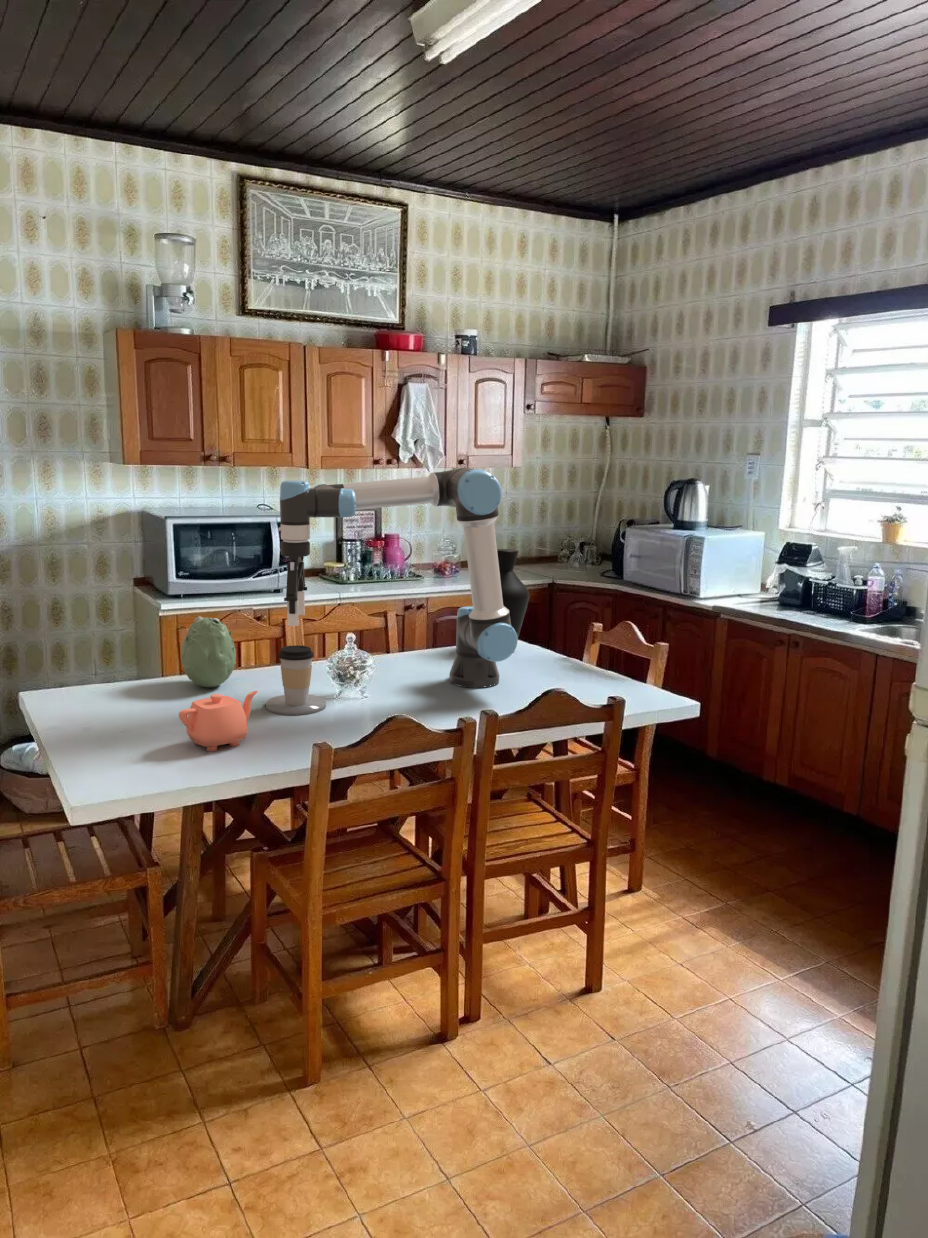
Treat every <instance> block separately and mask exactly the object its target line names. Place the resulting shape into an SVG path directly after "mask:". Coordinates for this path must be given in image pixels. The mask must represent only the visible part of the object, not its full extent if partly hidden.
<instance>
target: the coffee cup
mask: <svg viewBox="0 0 928 1238" xmlns="http://www.w3.org/2000/svg"><path fill="white" fill-rule="evenodd" d="M277 657H278V658H279V660H280V671H281V681H282V687H283V692H284V694H283V695H285V703H286V704H288V705H293V706H300V705H304V704H306V703H307V702H308V695H310V694H309V692H310V686H311V679H312V678H311V677H312V670H313V669H312V668H313V665H312V663H313V662H312V661H313V658H314V657H315V655H314V651H312V648H311V647H310V646H306V645H296V644H294V645H287V646H282V647H281V649H280V651H279V653H278V656H277Z"/></svg>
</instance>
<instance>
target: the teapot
mask: <svg viewBox="0 0 928 1238" xmlns="http://www.w3.org/2000/svg"><path fill="white" fill-rule="evenodd" d="M257 693H258V690H254V691H251V692H248V693H247V694H246V697H244V701H243V705H242V703H241V701H239V700H237V699H236V698H234V697H231V696H228V695H223V694H220V693H213V694H211V695H209V696H210V697H205V698H201V699H197V700H196V699H195V700H194V701H192V703H191V705H190V708H185V709H182V710H180V711H179V713H178V719H179V720H180V722H181V723H182V724H183V725H184V726H185V727H186V733H187V736H188V738H189V740H191V741H193V742H194V743H195V744H196V745H200V746H201V747H206V751H207V752H216V751H218V746H223V745H227V744H228V745H229V746H230V747H239V746H241V743H240V742H239V741H241V740H244V739H246V737H247V734H248V731H249V728H248V720H249V718H250V715H251V709H252V707H251V706H252V700H253V698H254V696H255V695H256V694H257Z"/></svg>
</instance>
